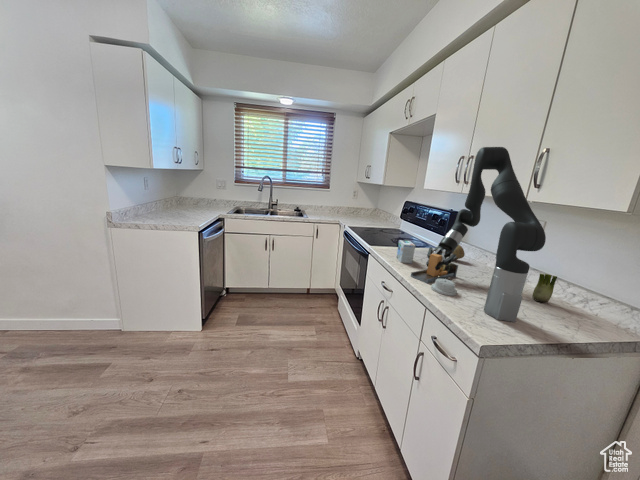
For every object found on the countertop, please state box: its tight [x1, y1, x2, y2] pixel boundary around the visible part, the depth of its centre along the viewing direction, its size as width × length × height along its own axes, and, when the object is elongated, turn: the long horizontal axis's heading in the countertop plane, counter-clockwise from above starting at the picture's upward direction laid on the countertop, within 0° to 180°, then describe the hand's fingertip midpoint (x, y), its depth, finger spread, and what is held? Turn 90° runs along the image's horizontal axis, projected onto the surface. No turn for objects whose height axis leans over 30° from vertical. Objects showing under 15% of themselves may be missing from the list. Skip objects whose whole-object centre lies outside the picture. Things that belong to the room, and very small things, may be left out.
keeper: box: [439, 262, 459, 278], centre depth 129 cm, size 6×10×6 cm
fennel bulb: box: [532, 273, 558, 304], centre depth 105 cm, size 6×5×12 cm
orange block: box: [426, 253, 448, 277], centre depth 125 cm, size 9×6×10 cm
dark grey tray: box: [410, 268, 455, 284], centre depth 125 cm, size 23×9×2 cm, turn 124°
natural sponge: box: [448, 244, 465, 261], centre depth 156 cm, size 9×9×10 cm
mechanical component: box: [430, 278, 458, 297], centre depth 109 cm, size 10×4×10 cm
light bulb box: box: [395, 239, 416, 265], centre depth 147 cm, size 11×7×11 cm, turn 178°
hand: (431, 267), depth 122 cm, fingers closed on orange block, 4 cm apart
